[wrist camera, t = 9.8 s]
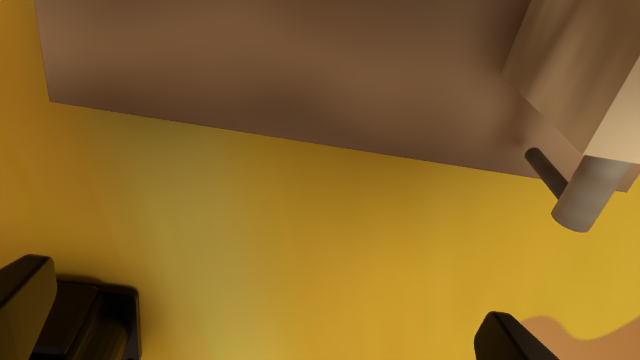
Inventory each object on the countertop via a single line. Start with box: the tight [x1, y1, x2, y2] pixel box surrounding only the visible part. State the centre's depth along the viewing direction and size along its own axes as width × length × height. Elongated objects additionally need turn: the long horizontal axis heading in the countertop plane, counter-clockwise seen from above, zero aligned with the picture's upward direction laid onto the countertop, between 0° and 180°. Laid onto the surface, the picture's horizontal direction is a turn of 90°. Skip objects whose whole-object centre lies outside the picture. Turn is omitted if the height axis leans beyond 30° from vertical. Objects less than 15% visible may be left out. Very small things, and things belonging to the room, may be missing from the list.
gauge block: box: [500, 0, 640, 232], centre depth 13 cm, size 9×4×6 cm, turn 170°
